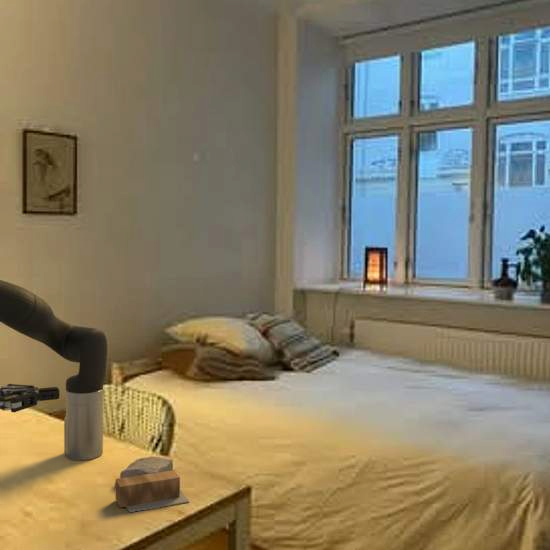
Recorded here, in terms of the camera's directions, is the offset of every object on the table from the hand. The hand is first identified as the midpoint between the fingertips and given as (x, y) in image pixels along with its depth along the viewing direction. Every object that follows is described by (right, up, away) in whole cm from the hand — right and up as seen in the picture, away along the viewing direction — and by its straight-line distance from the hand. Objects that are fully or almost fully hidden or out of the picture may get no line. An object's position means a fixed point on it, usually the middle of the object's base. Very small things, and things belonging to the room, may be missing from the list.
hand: (58, 392), depth 129 cm
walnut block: (+10, -23, +7) cm, 26 cm away
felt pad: (+17, -25, +11) cm, 32 cm away
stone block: (+13, -24, +21) cm, 35 cm away
